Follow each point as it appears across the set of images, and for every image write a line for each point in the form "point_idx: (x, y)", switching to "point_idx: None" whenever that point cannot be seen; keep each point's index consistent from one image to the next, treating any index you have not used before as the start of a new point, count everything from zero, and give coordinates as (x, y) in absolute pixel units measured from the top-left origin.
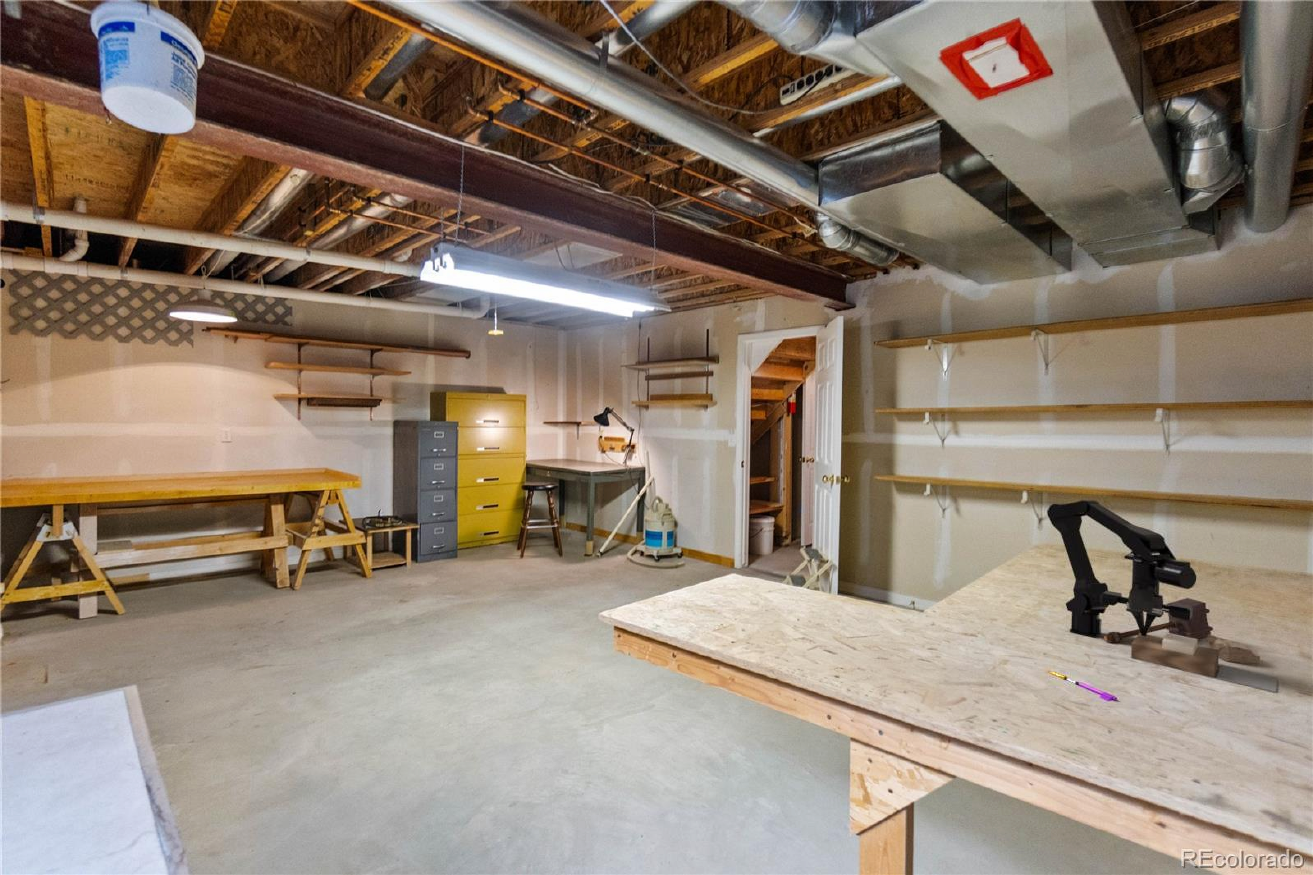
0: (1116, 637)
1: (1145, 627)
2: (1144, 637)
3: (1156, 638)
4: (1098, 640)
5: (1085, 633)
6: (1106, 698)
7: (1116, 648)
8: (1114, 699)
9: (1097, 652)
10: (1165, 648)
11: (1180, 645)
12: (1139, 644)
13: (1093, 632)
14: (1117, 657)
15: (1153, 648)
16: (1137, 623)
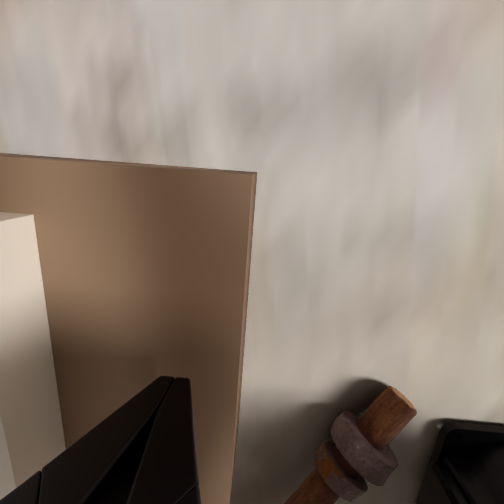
0: (351, 429)
1: (113, 444)
2: None
3: None
4: (428, 389)
5: (501, 438)
6: None
7: (339, 310)
8: None
9: (450, 123)
10: (4, 215)
11: None
12: (191, 185)
13: (464, 465)
14: (330, 112)
15: (84, 162)
16: (194, 487)
